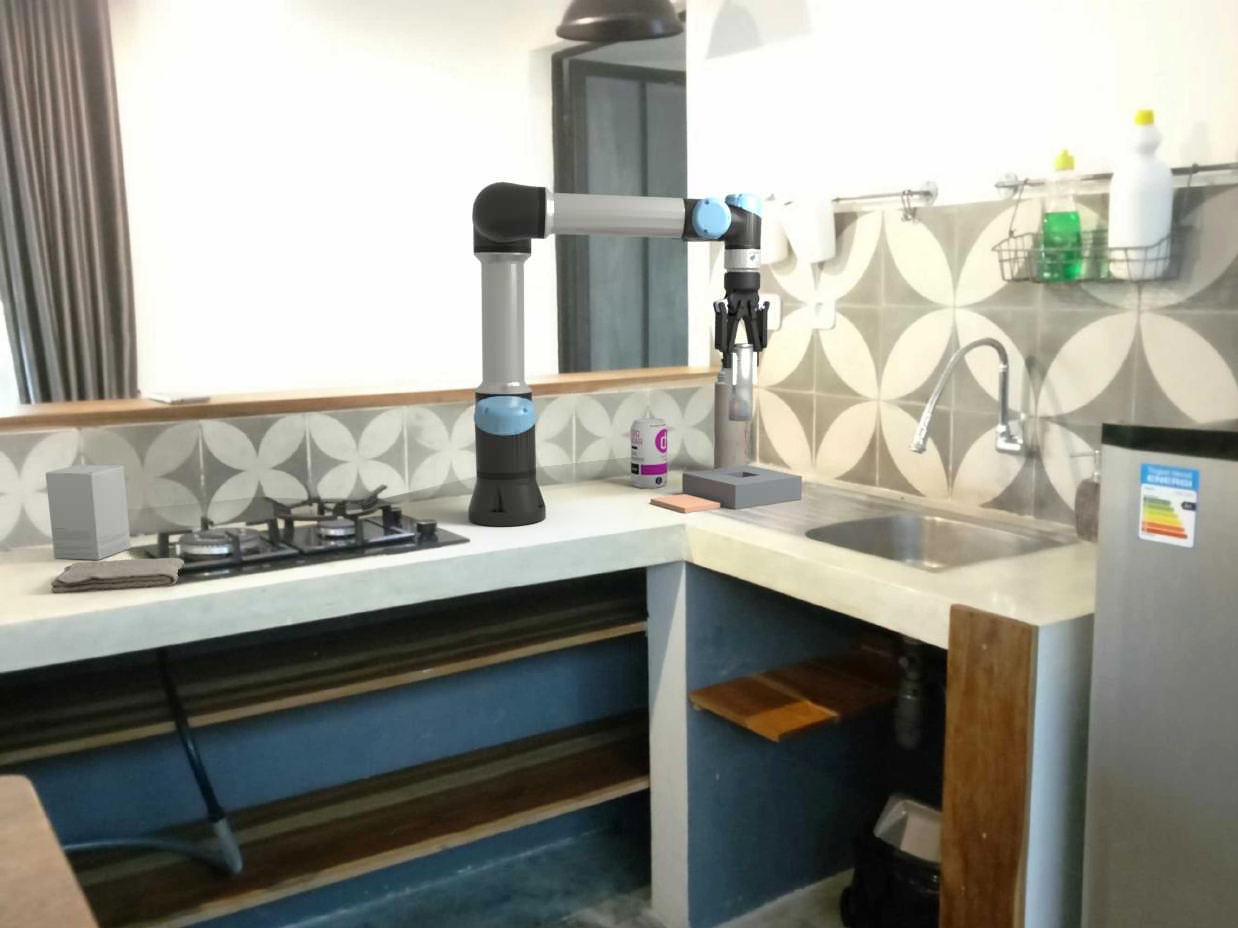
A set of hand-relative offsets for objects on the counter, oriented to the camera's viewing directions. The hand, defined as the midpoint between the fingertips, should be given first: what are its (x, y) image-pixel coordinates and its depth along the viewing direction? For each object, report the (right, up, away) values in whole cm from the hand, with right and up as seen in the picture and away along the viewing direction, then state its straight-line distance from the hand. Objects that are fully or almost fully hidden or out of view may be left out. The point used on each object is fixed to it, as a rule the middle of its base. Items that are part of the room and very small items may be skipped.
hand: (740, 383), depth 229 cm
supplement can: (-19, -22, +19) cm, 35 cm away
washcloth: (-104, -36, -58) cm, 124 cm away
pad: (-12, -26, -4) cm, 29 cm away
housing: (+1, -24, +4) cm, 25 cm away
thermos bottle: (+1, -20, +31) cm, 37 cm away
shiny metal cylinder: (0, -8, +1) cm, 8 cm away
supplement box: (-116, -33, -41) cm, 128 cm away
